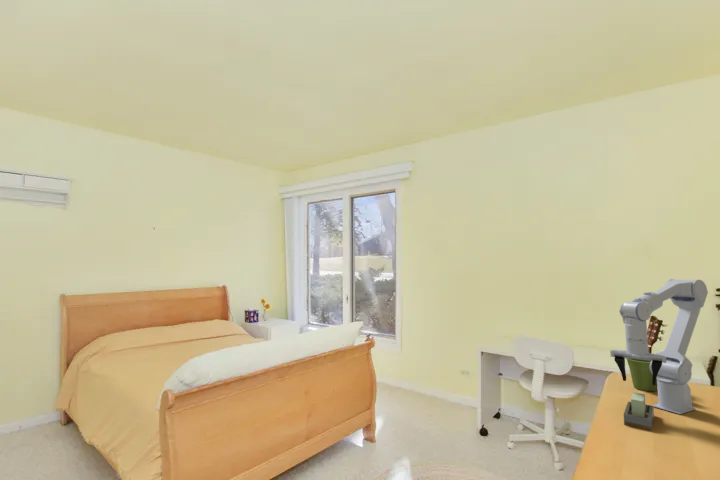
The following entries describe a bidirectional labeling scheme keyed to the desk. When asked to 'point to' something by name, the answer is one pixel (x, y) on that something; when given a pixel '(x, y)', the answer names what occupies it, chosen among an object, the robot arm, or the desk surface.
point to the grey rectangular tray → (637, 420)
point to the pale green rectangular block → (638, 404)
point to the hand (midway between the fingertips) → (639, 382)
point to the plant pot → (641, 374)
